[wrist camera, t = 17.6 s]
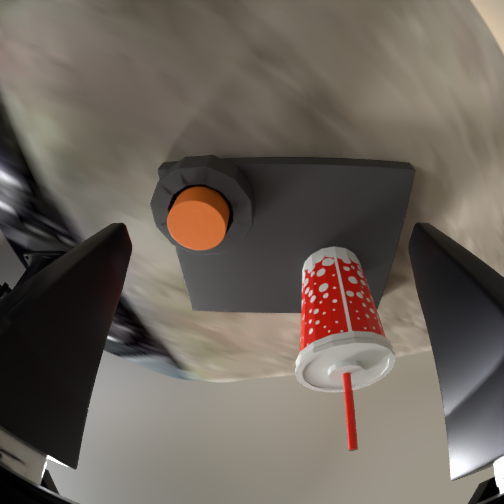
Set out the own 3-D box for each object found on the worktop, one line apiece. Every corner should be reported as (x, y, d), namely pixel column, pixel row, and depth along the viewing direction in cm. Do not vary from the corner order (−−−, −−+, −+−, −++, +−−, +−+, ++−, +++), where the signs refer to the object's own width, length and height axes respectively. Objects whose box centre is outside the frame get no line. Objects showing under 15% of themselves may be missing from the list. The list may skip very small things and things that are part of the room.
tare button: (179, 234, 21) (173, 250, 20) (169, 187, 19) (161, 201, 17) (232, 233, 21) (228, 250, 19) (226, 185, 18) (222, 199, 17)
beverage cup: (292, 297, 26) (292, 464, 15) (292, 238, 22) (297, 437, 11) (362, 295, 25) (390, 455, 15) (374, 237, 22) (428, 422, 11)
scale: (192, 301, 29) (186, 325, 27) (157, 152, 20) (141, 171, 18) (374, 301, 28) (380, 326, 25) (410, 152, 18) (428, 171, 16)
